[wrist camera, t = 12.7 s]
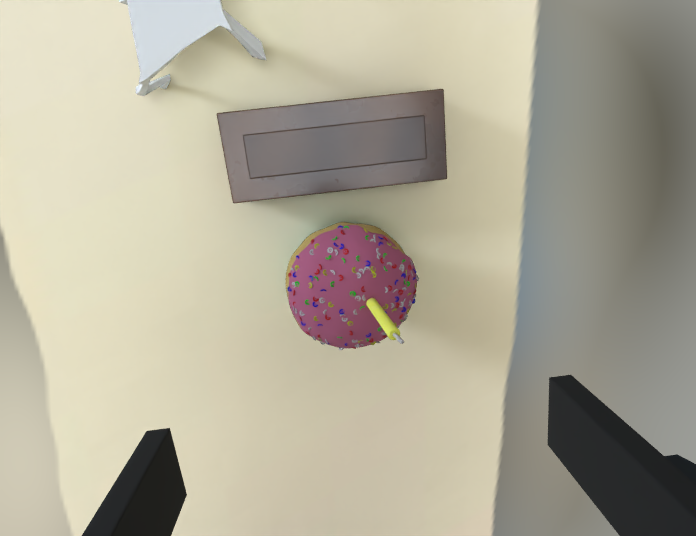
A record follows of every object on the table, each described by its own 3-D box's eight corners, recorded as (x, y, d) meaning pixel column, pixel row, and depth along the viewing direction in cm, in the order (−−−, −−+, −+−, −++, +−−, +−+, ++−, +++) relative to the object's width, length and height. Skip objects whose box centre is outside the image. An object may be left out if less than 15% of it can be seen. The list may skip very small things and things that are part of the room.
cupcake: (411, 221, 31) (464, 264, 20) (392, 326, 33) (429, 419, 22) (296, 205, 30) (280, 241, 19) (284, 314, 33) (264, 405, 21)
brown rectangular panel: (430, 94, 29) (448, 86, 25) (434, 175, 30) (451, 180, 26) (227, 116, 28) (211, 111, 24) (241, 197, 30) (229, 205, 26)
